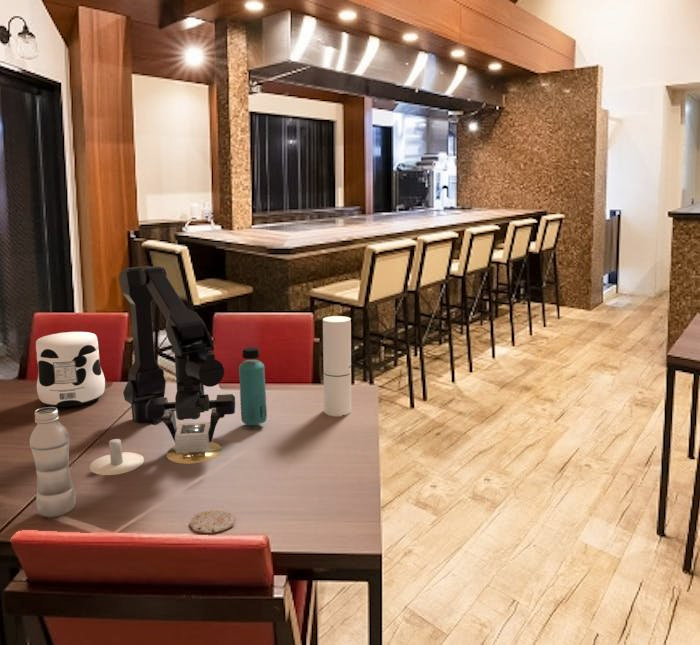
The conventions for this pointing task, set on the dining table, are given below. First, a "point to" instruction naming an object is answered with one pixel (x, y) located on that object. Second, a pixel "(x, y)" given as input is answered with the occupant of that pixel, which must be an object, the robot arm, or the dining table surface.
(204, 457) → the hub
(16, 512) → the dining table surface
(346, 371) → the cylindrical container
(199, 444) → the collar
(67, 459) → the plastic bottle
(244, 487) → the dining table surface
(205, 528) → the flatbread
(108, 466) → the stand
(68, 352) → the milk container
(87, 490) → the dining table surface
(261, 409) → the beverage bottle
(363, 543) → the dining table surface
